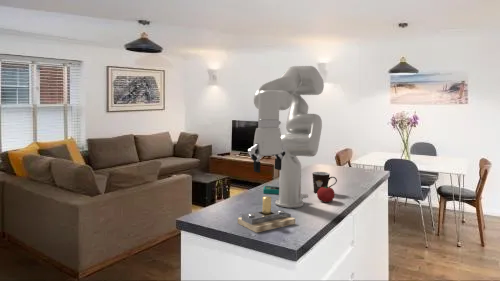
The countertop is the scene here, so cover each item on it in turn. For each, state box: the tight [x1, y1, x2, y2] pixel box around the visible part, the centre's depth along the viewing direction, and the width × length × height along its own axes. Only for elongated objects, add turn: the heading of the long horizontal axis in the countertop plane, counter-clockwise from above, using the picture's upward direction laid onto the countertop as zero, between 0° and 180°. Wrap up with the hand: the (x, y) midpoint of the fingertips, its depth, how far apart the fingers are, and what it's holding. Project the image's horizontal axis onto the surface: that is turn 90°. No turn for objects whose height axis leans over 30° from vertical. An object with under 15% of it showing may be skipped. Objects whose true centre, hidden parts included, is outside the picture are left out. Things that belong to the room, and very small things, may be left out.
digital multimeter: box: [262, 185, 279, 195], centre depth 189 cm, size 7×15×3 cm, turn 85°
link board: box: [237, 216, 296, 233], centre depth 140 cm, size 18×12×2 cm, turn 125°
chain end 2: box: [264, 209, 292, 222], centre depth 141 cm, size 13×7×2 cm, turn 125°
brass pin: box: [261, 195, 272, 216], centre depth 139 cm, size 3×3×10 cm
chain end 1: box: [241, 209, 280, 225], centre depth 138 cm, size 13×7×3 cm, turn 125°
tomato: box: [316, 186, 336, 203], centre depth 173 cm, size 8×8×7 cm
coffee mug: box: [312, 171, 338, 194], centre depth 188 cm, size 12×9×10 cm
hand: (267, 170), depth 138 cm, fingers open, 9 cm apart
